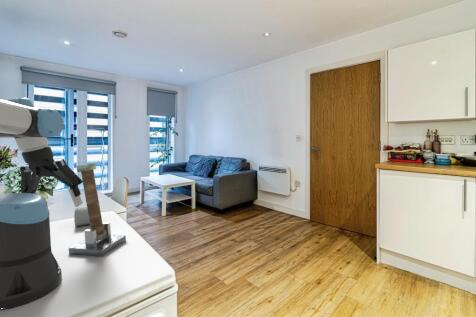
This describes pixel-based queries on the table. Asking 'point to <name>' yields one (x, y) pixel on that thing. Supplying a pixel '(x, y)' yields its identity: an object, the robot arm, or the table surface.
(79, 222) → the ceramic mug
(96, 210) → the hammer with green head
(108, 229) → the stand base
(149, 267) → the table surface
